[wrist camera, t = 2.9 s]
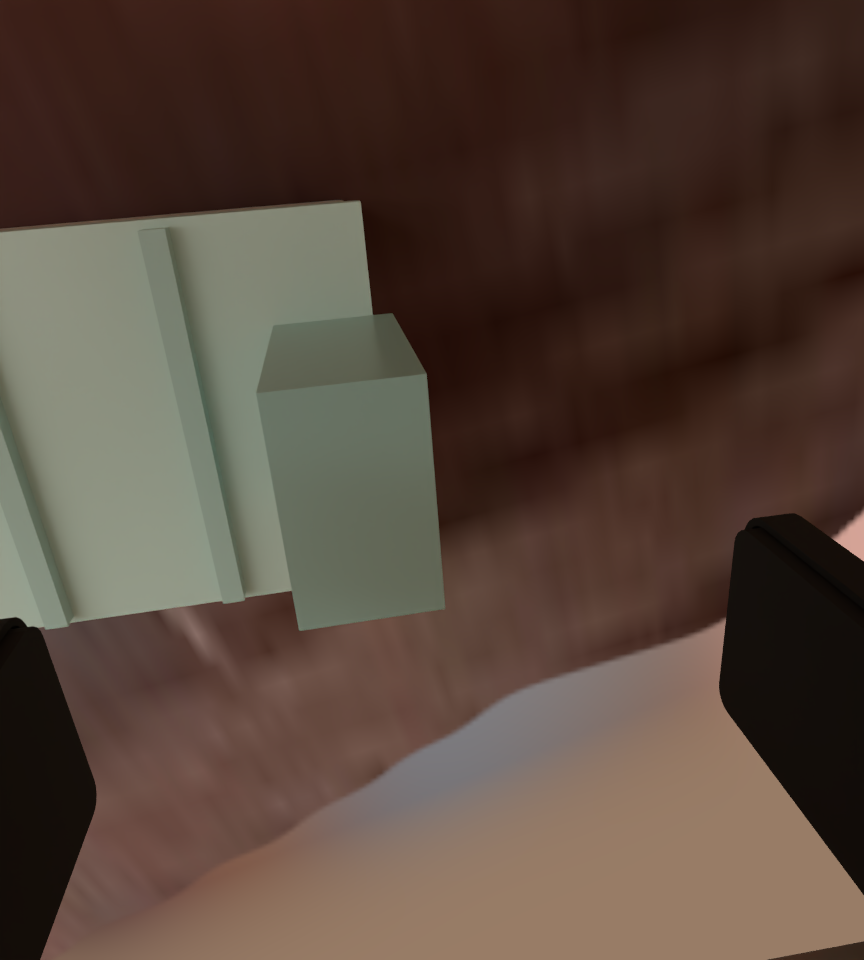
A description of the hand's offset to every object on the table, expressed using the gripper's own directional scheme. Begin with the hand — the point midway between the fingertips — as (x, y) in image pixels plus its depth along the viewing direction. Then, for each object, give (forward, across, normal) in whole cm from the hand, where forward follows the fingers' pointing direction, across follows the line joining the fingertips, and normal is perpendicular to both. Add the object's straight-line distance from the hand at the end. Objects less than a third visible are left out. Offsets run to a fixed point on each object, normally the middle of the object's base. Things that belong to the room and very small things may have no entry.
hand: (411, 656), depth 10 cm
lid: (+12, +7, 0) cm, 14 cm away
